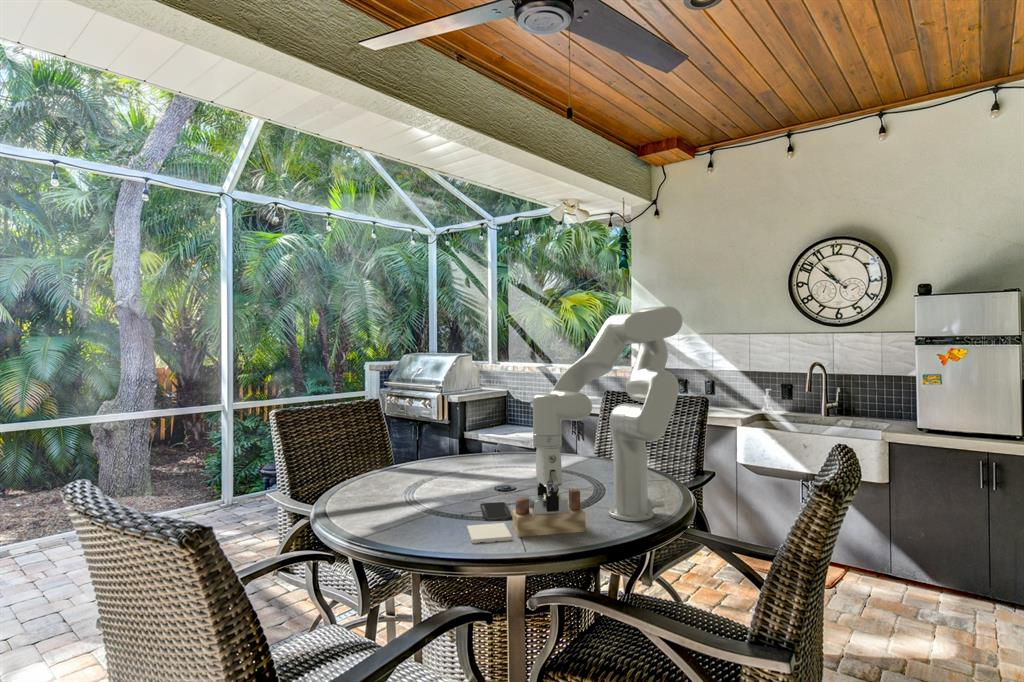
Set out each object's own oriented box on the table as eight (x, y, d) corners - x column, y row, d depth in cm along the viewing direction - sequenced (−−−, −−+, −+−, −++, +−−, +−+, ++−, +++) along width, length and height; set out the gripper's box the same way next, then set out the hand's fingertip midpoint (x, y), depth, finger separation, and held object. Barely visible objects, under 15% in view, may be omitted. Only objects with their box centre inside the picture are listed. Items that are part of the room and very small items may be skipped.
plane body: (577, 523, 157) (576, 486, 157) (585, 531, 151) (585, 493, 151) (512, 528, 154) (512, 490, 154) (518, 537, 147) (517, 497, 147)
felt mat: (503, 526, 156) (503, 522, 156) (511, 540, 145) (511, 536, 145) (467, 529, 154) (466, 525, 154) (472, 543, 143) (472, 539, 143)
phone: (484, 518, 161) (480, 503, 176) (484, 522, 161) (480, 506, 176) (512, 516, 162) (505, 501, 177) (512, 520, 162) (505, 505, 177)
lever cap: (562, 506, 156) (561, 490, 156) (567, 512, 150) (567, 495, 150) (529, 509, 154) (529, 492, 154) (534, 515, 149) (534, 497, 149)
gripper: (570, 445, 145) (571, 514, 144) (552, 434, 162) (553, 496, 161) (541, 447, 143) (542, 516, 143) (526, 436, 160) (526, 498, 160)
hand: (548, 506), depth 152 cm, fingers open, 8 cm apart
